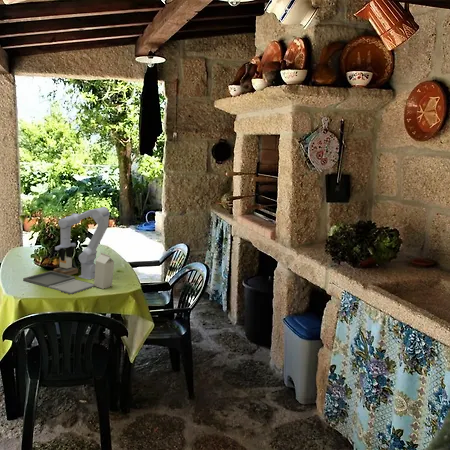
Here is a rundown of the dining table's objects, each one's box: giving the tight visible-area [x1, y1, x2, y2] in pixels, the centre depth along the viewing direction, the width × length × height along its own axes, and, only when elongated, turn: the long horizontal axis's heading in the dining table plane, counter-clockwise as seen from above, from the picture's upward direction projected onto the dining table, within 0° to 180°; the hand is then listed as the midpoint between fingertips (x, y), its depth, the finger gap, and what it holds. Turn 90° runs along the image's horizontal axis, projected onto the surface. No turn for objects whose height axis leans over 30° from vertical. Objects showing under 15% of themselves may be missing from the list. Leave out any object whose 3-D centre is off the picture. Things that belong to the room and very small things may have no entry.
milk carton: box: [93, 252, 115, 290], centre depth 283 cm, size 7×7×19 cm
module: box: [59, 255, 73, 269], centre depth 305 cm, size 6×4×6 cm
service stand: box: [53, 266, 79, 276], centre depth 306 cm, size 10×10×3 cm
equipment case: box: [22, 270, 97, 295], centre depth 286 cm, size 38×20×2 cm, turn 60°
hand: (65, 259), depth 305 cm, fingers closed on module, 4 cm apart
